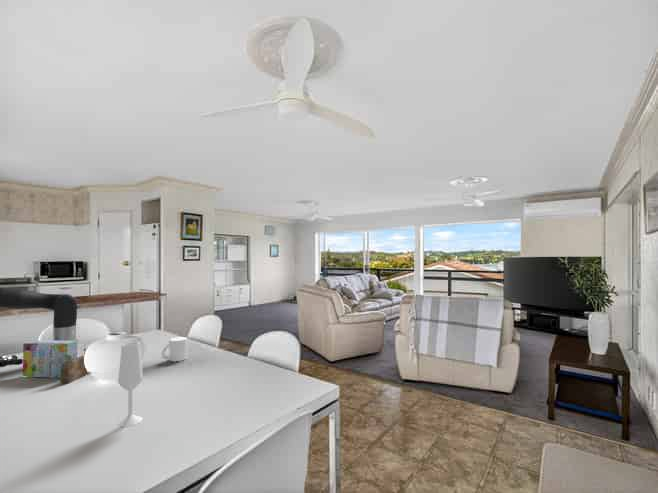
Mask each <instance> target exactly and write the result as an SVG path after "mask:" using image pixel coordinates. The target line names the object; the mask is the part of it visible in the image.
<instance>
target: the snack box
mask: <svg viewBox="0 0 658 493" xmlns="http://www.w3.org/2000/svg"><path fill="white" fill-rule="evenodd" d="M22 345H23V347H22V359H23V363H22V377H23V376H25V377H24V378H33V377H50V378H49V379H61V364H63V363H65V362H67V355H69V354H73V359H76V341H53V340H30V341H27V342H24V343H23V344H22ZM26 376H27V377H26Z"/></svg>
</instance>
